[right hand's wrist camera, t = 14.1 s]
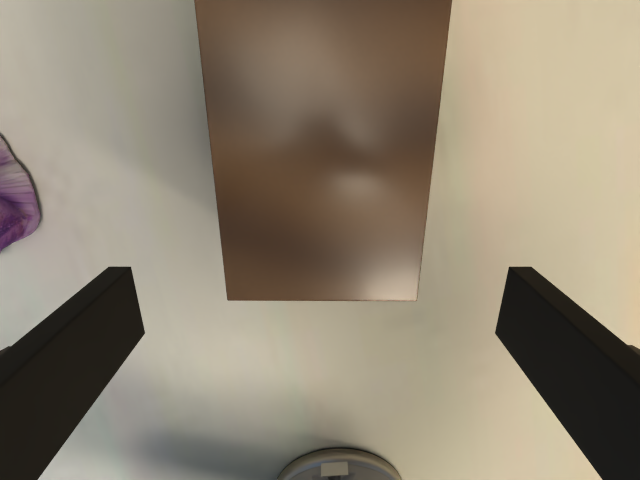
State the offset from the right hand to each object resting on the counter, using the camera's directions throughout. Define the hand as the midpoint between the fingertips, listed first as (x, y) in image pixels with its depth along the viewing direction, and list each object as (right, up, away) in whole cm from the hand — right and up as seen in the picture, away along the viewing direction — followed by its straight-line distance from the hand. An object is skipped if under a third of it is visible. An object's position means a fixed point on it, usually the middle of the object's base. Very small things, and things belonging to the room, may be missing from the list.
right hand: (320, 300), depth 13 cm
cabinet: (0, +12, +14) cm, 19 cm away
